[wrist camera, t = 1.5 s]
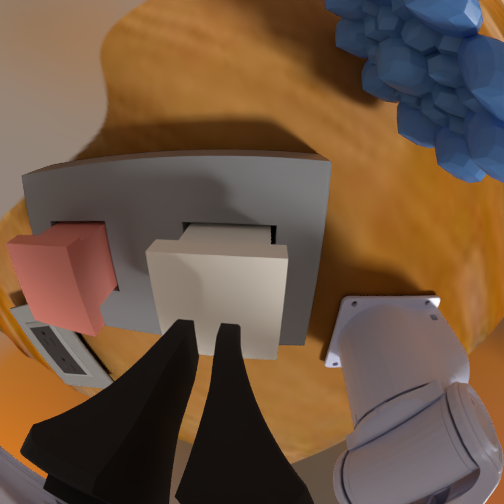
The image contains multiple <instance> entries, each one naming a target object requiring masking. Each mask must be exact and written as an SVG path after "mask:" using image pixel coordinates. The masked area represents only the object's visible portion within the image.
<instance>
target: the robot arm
mask: <svg viewBox="0 0 504 504" xmlns="http://www.w3.org/2000/svg"><path fill="white" fill-rule="evenodd" d="M354 301H356V302H355V303H353V304H352V302H354ZM426 301H427V302H426ZM439 303H440V298H439V297H438V296H437V295H431V296H346V297H344V298H343V299H342V301H341V305H340V309H339V312H338V316H337V320H336V324H335V327H334V331H333V335H332V338H331V342H330V345H329V348H328V352H327V355H326V358H325V361H324V364H325V366H326V367H342V372H343V376H344V381H345V385H346V390H347V395H348V400H349V405H350V410H351V415H352V420H353V426H354V431H353V432H352V433H351V434H349V435H347V436H346V440H347V447H348V449H346V450H345V451H344V452H343V453H342V454H341V455H340V456H339V457H338V459H337V461H336V464H335V467H334V473H333V486H334V492H335V495H336V498H337V500H338V501H339V503H340V504H484V503H485V502H486V501H487V499H488V498H489V496H490V495H491V494H492V492H493V491H494V489H495V488H496V487H497V485H498V483H499V481H500V479H501V475H502V469H503V464H504V460H503V452H502V448H501V445H500V443H499V441H498V438H497V435H496V432H495V429H494V426H493V423H492V421H491V418H490V416H489V414H488V412H487V410H486V408H485V406H484V404H483V403H482V401H481V399H480V398H479V396H478V395H477V393H476V392H475V391H474V389H473V388H472V387H471V386H470V385H469V384H468V381H469V361H468V356H467V354H466V351H465V349H464V347H463V346H462V344H461V343H460V341H459V339H458V338H457V336H456V335H455V333H454V332H453V330H452V328H451V327H450V325H449V324H448V322H447V321H446V320H445V318H444V317H443V315H442V314H441V312H440V311H439V309H438V308H437V307H438V305H439ZM198 360H199V354H198V347H197V340H196V334H195V327H194V320H184V319H177V320H176V321H175V322H174V323H173V325H172V326H171V327H170V328H169V329H168V330H167V331H166V332H165V334H164V335H163V336H162V337H161V338H160V339H159V340H158V341H157V342H156V343H155V344H154V345H153V346H152V347H151V348H150V349H149V350H148V352H147V353H146V354H145V355H144V356H143V357H142V358H141V359H139V360H138V361H137V362H136V363H135V364H134V365H133V366H132V367H131V368H130V369H129V370H128V371H126V372H125V373H124V374H123V375H122V376H121V377H119V378H118V379H117V380H116V381H114V382H113V383H112V384H110V385H109V386H108V387H106V388H105V389H103V390H102V391H101V392H99V393H98V394H96V395H95V396H93V397H92V398H90V399H89V400H87V401H85V402H83V403H82V404H80V405H78V406H76V407H74V408H72V409H70V410H68V411H66V412H64V413H63V414H60V415H58V416H55V417H53V418H50V419H48V420H45V421H42V422H40V423H37V424H34V425H33V426H32V428H31V429H30V432H29V434H28V435H27V437H26V439H25V441H24V443H23V446H22V448H21V450H20V452H21V454H22V455H23V456H24V457H25V458H26V459H28V460H29V461H31V462H32V463H33V464H35V465H36V466H37V467H39V468H40V469H42V470H43V471H45V472H46V473H48V476H47V479H45V478H43V477H41V476H40V475H38V474H37V473H35V472H34V471H32V470H31V469H29V468H28V467H26V466H25V465H24V464H22V463H21V462H19V461H18V460H17V459H15V458H14V457H13V456H12V455H11V454H9V453H8V452H7V451H6V450H4V449H3V448H2V447H1V446H0V504H169V497H170V487H171V477H172V469H173V463H174V456H175V450H176V444H177V439H178V433H179V430H180V426H181V422H182V419H183V416H184V413H185V409H186V406H187V403H188V400H189V397H190V394H191V390H192V387H193V384H194V381H195V376H196V371H197V365H198ZM335 362H336V363H335ZM175 498H176V499H177V500H178V501H179V503H180V504H314V502H313V500H312V497H311V496H310V493H309V491H308V488H307V486H306V485H305V484H304V482H303V481H302V480H301V478H300V477H299V476H298V475H297V473H296V472H295V470H294V469H293V468H292V466H291V465H290V463H289V462H288V460H287V459H286V457H285V456H284V454H283V453H282V451H281V449H280V448H279V446H278V444H277V442H276V441H275V439H274V437H273V435H272V434H271V432H270V430H269V428H268V426H267V424H266V422H265V420H264V418H263V416H262V414H261V411H260V409H259V407H258V404H257V402H256V399H255V397H254V394H253V392H252V389H251V386H250V383H249V380H248V376H247V373H246V369H245V365H244V361H243V356H242V350H241V327H240V326H239V325H238V324H229V323H221V325H220V327H219V330H218V333H217V336H216V342H215V350H214V358H213V366H212V374H211V382H210V387H209V392H208V396H207V400H206V403H205V407H204V411H203V414H202V418H201V421H200V425H199V428H198V432H197V435H196V438H195V441H194V444H193V447H192V450H191V454H190V457H189V460H188V462H187V465H186V468H185V471H184V474H183V476H182V479H181V482H180V484H179V487H178V490H177V492H176V494H175Z"/></svg>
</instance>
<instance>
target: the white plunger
mask: <svg viewBox="0 0 504 504" xmlns="http://www.w3.org/2000/svg"><path fill="white" fill-rule="evenodd" d="M145 252H146V258H147V264H148V270H149V276H150V281H151V286H152V291H153V296H154V301H155V306H156V311H157V315H158V320H159V324H160V328H161V332H162V336H163V335H164V334H165V332H166V331H167V330H168V329H169V328H170V327H171V326H172V325H173V323H174V322H175V321H176V320H177V319H184V320H194V327H195V334H196V340H197V347H198V354H202V355H211V356H214V350H215V342H216V336H217V333H218V330H219V327H220V325H221V323H229V324H238V325H239V326H240V327H241V350H242V356H243V358H248V359H267V360H277V353H278V346H279V338H280V330H281V321H282V313H283V304H284V295H285V286H286V277H287V267H288V253H287V245H274V244H271V225H257V224H233V223H204V222H191V224H190V225H189V226H188V228H187V229H186V231H185V232H184V233H183V235H182V236H181V237H180V239H179V240H161V239H156V240H155V241H154V242H153V243H152V244H151V246H150V247H149V248H148V249H147V250H146V251H145Z"/></svg>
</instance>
